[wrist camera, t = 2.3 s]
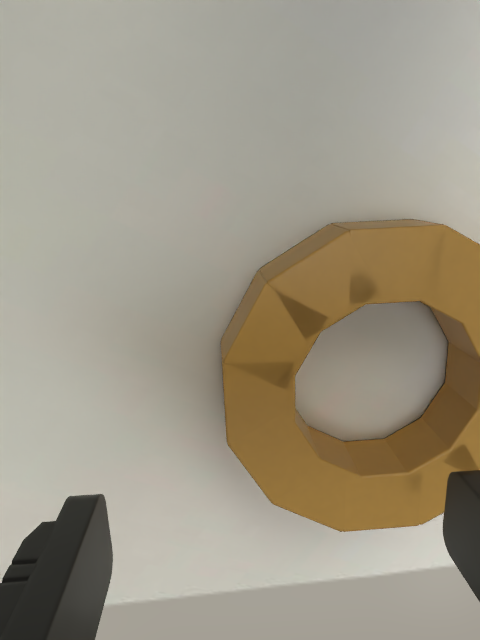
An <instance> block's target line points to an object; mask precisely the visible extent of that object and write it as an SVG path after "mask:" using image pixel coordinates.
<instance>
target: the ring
mask: <svg viewBox="0 0 480 640" xmlns="http://www.w3.org/2000/svg"><path fill="white" fill-rule="evenodd" d="M412 301H420V302H422V303H424V304H426V305H427V306H429V307H431V309H432V311H433V313H434V315H435V317H436V319H437V321H438V322H439V324H440V326H441V328H442V330H443V332H444V334H445V336H446V338H447V340H448V341H449V345H448V355H447V366H446V377H445V383H444V385H443V386H442V387H441V389H440V390H439V392H438V393H437V395H436V396H435V398H434V399H433V401H432V402H431V404H430V405H429V407H428V408H427V410H426V411H425V413H424V414H423V415H422V417H421V418H419V419H418V420H416V421H414V422H412V423H411V424H409V425H407V426H405V427H404V428H402V429H400V430H398V431H397V432H395V433H393V434H392V435H390V436H388V437H386V438H385V439H374V440H360V441H346V442H343V441H341V440H338V439H336V438H334V437H332V436H329V435H327V434H325V433H323V432H320V431H318V430H316V429H314V428H312V427H309V426H307V425H306V423H305V422H304V420H303V419H302V417H301V416H300V414H299V413H298V411H297V410H296V408H295V375H296V373H297V372H298V370H299V368H300V366H301V365H302V363H303V361H304V360H305V358H306V356H307V354H308V353H309V351H310V349H311V348H312V346H313V344H314V343H315V341H316V339H317V337H318V336H319V334H320V332H321V331H323V330H325V329H326V328H328V327H329V326H331V325H333V324H334V323H336V322H338V321H339V320H341V319H342V318H344V317H346V316H347V315H349V314H351V313H352V312H354V311H356V310H357V309H359V308H360V307H362V306H364V305H365V304H378V303H395V302H412ZM221 354H222V371H223V388H224V405H225V422H226V439H227V443H228V446H229V447H230V448H231V450H232V451H233V452H234V454H235V455H236V456H237V458H238V459H239V460H240V462H241V463H242V464H243V466H244V467H245V468H246V470H247V471H248V472H249V474H250V475H251V476H252V478H253V479H254V480H255V482H256V483H257V484H258V486H259V487H260V488H261V490H262V491H263V492H264V494H265V495H266V496H267V498H268V499H269V500H270V502H271V503H273V504H274V505H276V506H279V507H281V508H284V509H286V510H289V511H291V512H293V513H296V514H298V515H301V516H303V517H306V518H308V519H311V520H313V521H316V522H318V523H321V524H323V525H326V526H328V527H330V528H333V529H335V530H338V531H340V532H342V531H344V532H346V531H358V530H370V529H383V528H395V527H408V526H418V525H419V524H420V525H421V524H424V523H425V522H427V521H429V520H431V519H433V518H435V517H436V516H438V515H440V514H442V513H444V509H445V500H446V490H447V481H448V477H449V474H450V473H451V472H457V471H472V470H480V245H479V244H478V243H476V242H474V241H472V240H471V239H469V238H467V237H466V236H464V235H462V234H460V233H459V232H457V231H455V230H453V229H452V228H450V227H448V226H446V225H443V224H437V223H431V222H426V221H420V220H414V219H405V220H385V221H365V222H345V223H331V224H330V225H327V226H325V227H324V228H322V229H321V230H319V231H318V232H316V233H315V234H313V235H311V236H310V237H308V238H307V239H305V240H304V241H302V242H300V243H299V244H297V245H296V246H294V247H293V248H291V249H290V250H288V251H286V252H285V253H283V254H282V255H280V256H279V257H277V258H275V259H274V260H272V261H271V262H269V263H268V264H266V265H265V266H263V267H261V268H260V270H258V271H257V273H256V275H255V277H254V278H253V280H252V282H251V284H250V286H249V288H248V290H247V292H246V293H245V295H244V297H243V299H242V301H241V303H240V305H239V307H238V308H237V310H236V312H235V314H234V316H233V318H232V320H231V322H230V324H229V325H228V327H227V329H226V331H225V333H224V335H223V337H222V339H221Z"/></svg>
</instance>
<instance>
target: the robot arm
mask: <svg viewBox="0 0 480 640" xmlns="http://www.w3.org/2000/svg"><path fill="white" fill-rule="evenodd" d="M443 536H444V541H445V545H446V548H447V550H448V553H449V555H450V556H451V558H452V560H453V561H454V563H455V564H456V566H457V567H458V569H459V570H460V572H461V574H462V575H463V577H464V578H465V580H466V581H467V583H468V584H469V586H470V588H471V589H472V591H473V592H474V594H475V595H476V597H477V598H478V600H479V601H480V470H472V471H457V472H451V473H450V474H449V477H448V481H447V490H446V500H445V509H444V519H443ZM112 563H113V552H112V543H111V536H110V529H109V522H108V515H107V508H106V501H105V497H104V495H103V494H96V495H81V496H69V497H68V498H67V499H66V501H65V503H64V505H63V507H62V509H61V511H60V513H59V516H58V518H57V520H56V521H52V522H42V523H41V524H40V525H39V526H38V527H37V528H36V529H35V530H34V531H33V532H32V533H30V534H29V535H28V536H27V537H26V538H25V539H24V540H23V542H22V544H21V546H20V547H19V549H18V551H17V553H16V555H15V557H14V558H13V560H12V565H10V566H9V568H8V569H7V571H6V573H5V575H4V577H3V581H2V583H0V640H95V637H96V633H97V629H98V625H99V621H100V617H101V614H102V610H103V606H104V603H105V599H106V595H107V591H108V587H109V584H110V579H111V574H112Z"/></svg>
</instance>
